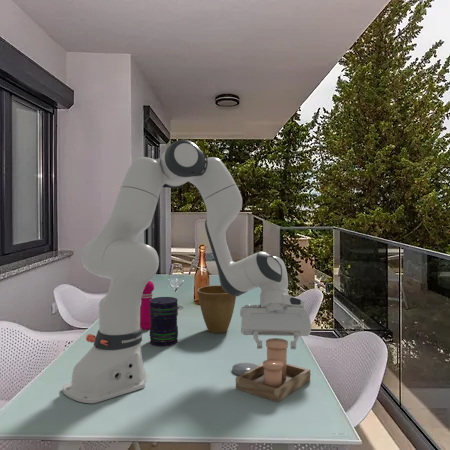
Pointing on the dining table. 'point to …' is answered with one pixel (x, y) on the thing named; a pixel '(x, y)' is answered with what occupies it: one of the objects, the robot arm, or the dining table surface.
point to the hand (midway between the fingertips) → (276, 348)
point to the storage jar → (163, 321)
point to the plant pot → (216, 308)
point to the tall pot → (278, 352)
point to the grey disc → (242, 368)
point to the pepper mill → (146, 306)
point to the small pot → (273, 373)
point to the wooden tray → (255, 385)
